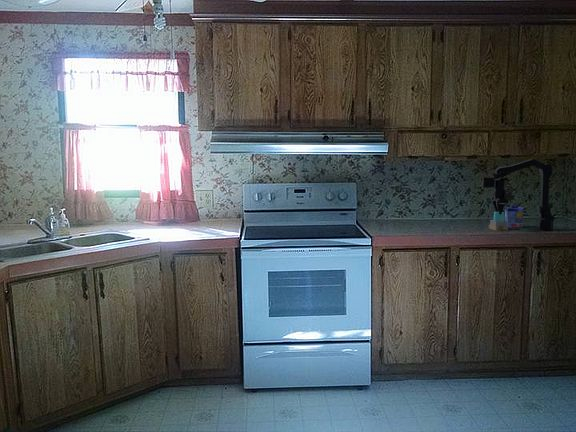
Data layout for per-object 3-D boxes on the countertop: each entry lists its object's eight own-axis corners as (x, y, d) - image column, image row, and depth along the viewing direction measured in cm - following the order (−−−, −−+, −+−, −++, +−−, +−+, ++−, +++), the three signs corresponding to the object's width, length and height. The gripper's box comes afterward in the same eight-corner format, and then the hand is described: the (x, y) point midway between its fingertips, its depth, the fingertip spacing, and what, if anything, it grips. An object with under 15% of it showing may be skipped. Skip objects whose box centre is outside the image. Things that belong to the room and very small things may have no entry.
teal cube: (493, 219, 306) (493, 211, 306) (502, 219, 305) (502, 211, 304) (494, 220, 301) (495, 212, 301) (503, 221, 300) (504, 212, 300)
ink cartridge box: (507, 227, 310) (508, 204, 308) (503, 225, 315) (504, 203, 313) (523, 227, 309) (524, 204, 307) (519, 225, 314) (521, 203, 312)
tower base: (500, 228, 308) (500, 224, 308) (508, 230, 301) (508, 226, 300) (488, 229, 307) (488, 224, 307) (495, 231, 299) (496, 226, 299)
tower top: (500, 224, 307) (501, 219, 307) (506, 226, 300) (507, 221, 300) (490, 224, 307) (490, 219, 306) (495, 226, 300) (496, 221, 299)
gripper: (518, 189, 290) (516, 215, 292) (510, 186, 308) (509, 211, 310) (497, 189, 292) (496, 215, 294) (491, 186, 310) (490, 211, 313)
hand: (498, 213), depth 303 cm, fingers open, 9 cm apart
